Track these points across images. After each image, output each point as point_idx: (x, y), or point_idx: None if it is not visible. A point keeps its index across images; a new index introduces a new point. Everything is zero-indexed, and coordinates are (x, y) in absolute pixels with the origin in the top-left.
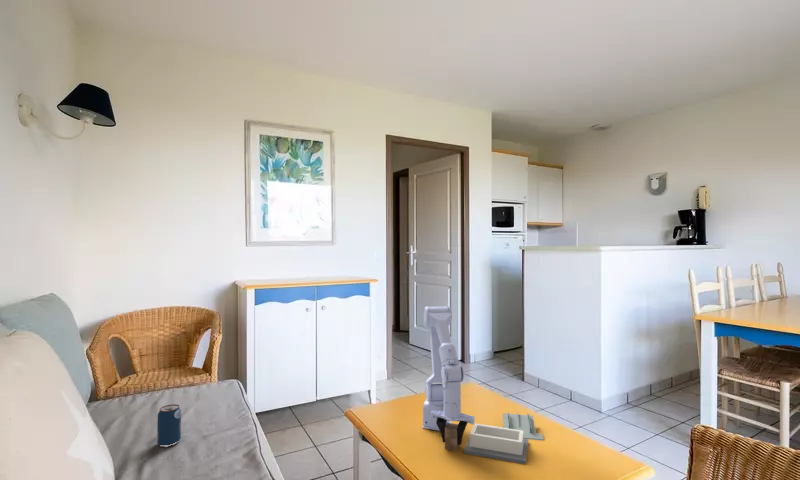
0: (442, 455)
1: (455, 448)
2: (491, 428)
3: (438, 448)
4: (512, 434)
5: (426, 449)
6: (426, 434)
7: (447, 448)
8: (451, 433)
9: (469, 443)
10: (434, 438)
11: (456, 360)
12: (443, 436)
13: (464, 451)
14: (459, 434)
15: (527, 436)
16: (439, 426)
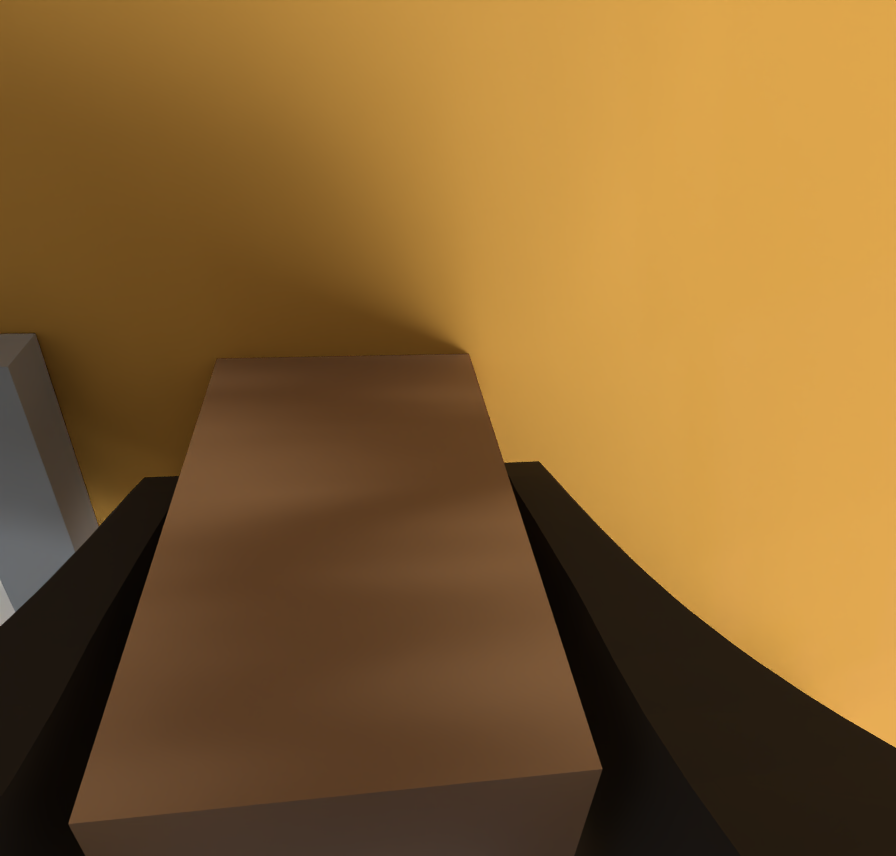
0: (467, 59)
1: (238, 382)
2: None
3: (592, 335)
4: None
5: (831, 214)
6: (791, 634)
7: (417, 367)
8: (323, 631)
9: None
10: (678, 589)
11: None
12: (559, 537)
13: (11, 351)
14: (40, 670)
15: None
16: (831, 755)
